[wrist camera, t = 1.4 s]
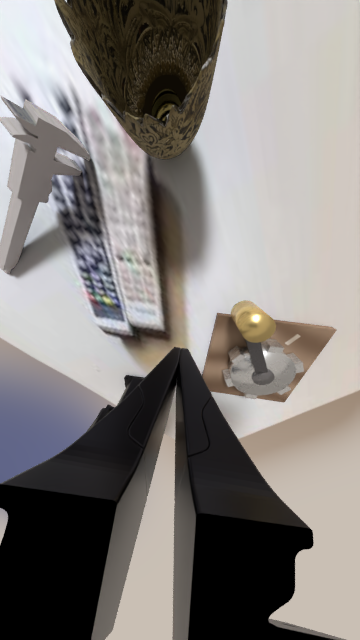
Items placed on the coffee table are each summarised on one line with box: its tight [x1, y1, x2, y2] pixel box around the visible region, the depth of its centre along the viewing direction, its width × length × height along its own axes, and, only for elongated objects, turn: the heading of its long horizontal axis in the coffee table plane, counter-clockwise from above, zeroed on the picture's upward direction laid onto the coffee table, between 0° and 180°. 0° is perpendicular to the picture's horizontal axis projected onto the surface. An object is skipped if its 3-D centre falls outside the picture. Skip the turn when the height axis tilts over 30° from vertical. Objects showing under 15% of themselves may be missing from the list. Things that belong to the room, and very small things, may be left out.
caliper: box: [0, 96, 90, 274], centre depth 14 cm, size 20×1×6 cm, turn 124°
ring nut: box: [222, 301, 304, 399], centre depth 18 cm, size 18×11×6 cm, turn 24°
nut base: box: [202, 313, 336, 402], centre depth 22 cm, size 16×16×1 cm
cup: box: [55, 0, 227, 159], centre depth 9 cm, size 8×7×8 cm
